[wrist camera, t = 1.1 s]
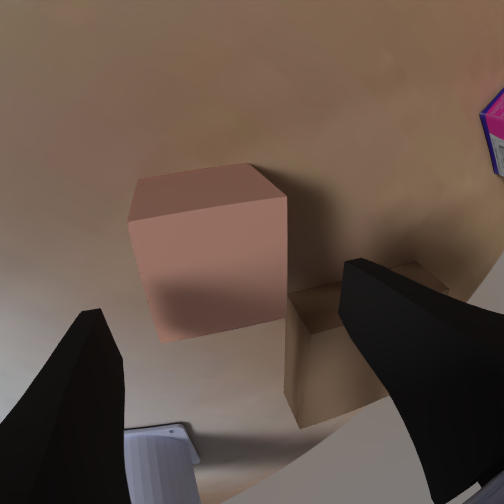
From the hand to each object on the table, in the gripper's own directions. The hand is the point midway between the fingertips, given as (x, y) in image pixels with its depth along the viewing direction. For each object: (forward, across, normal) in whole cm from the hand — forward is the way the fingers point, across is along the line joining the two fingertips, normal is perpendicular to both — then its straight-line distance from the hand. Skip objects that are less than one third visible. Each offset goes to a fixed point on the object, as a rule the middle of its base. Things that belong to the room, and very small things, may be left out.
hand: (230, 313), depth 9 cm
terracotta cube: (+7, 0, 0) cm, 7 cm away
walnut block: (+7, -9, +10) cm, 16 cm away
